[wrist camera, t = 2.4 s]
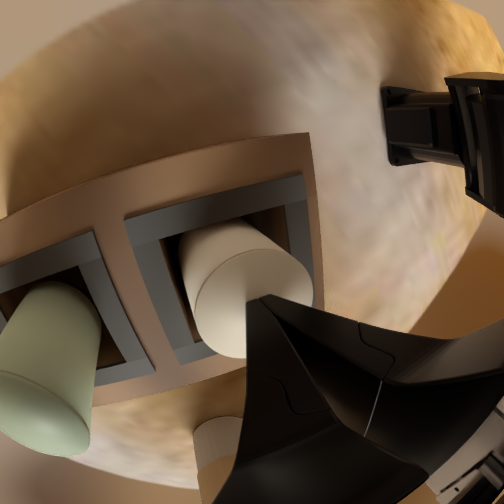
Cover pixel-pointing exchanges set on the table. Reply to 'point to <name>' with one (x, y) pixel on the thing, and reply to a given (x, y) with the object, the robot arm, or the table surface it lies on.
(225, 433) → the coffee cup
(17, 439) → the sage peg
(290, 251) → the walnut block
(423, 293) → the table surface
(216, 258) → the cream peg
